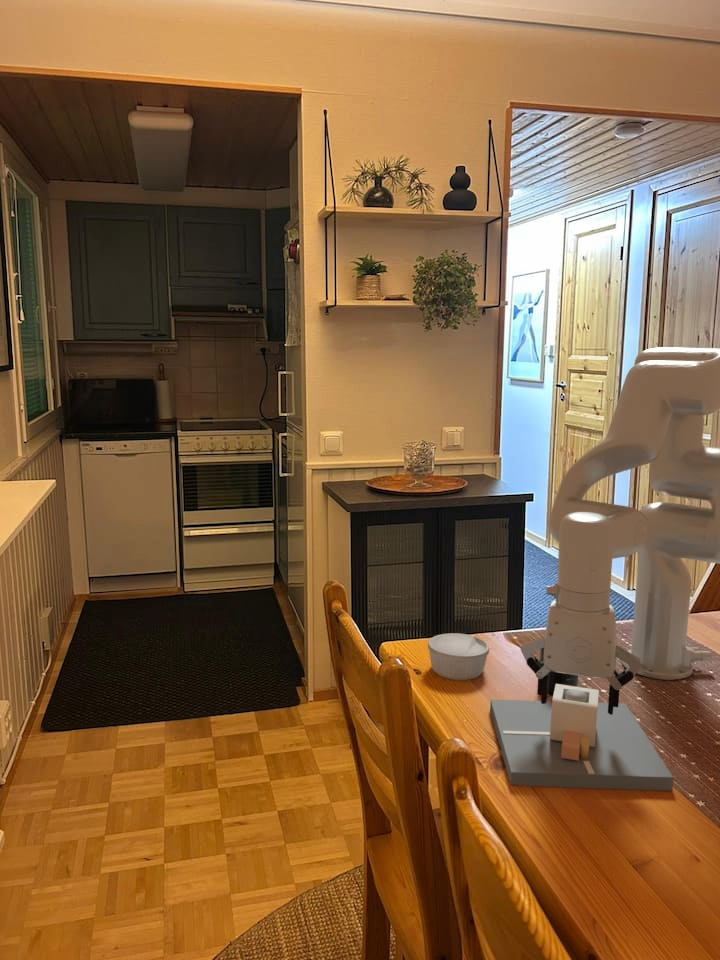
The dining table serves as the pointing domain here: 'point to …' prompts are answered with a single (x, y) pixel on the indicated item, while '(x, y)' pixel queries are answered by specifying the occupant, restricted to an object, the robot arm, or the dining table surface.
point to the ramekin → (458, 655)
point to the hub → (573, 720)
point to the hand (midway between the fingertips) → (577, 705)
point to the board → (608, 765)
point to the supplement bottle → (558, 677)
